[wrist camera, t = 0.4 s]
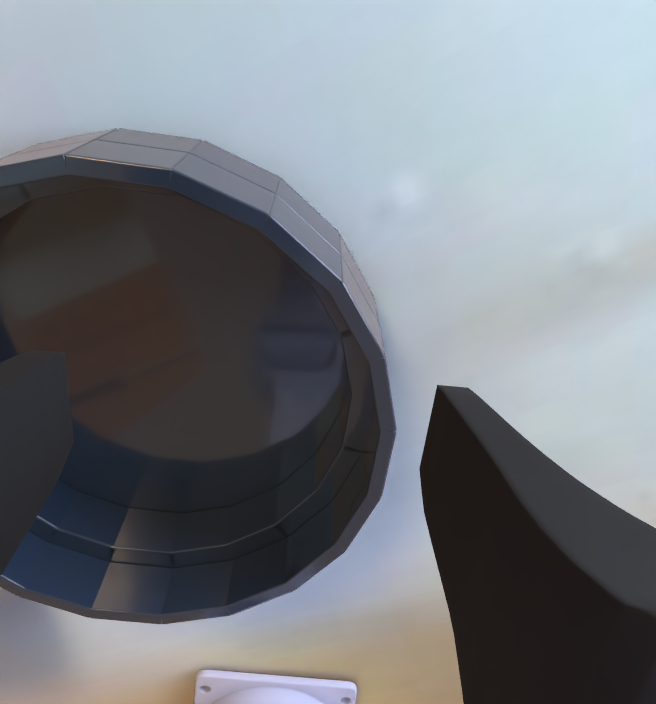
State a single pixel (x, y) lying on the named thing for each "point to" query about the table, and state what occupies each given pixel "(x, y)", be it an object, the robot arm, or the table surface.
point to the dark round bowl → (189, 377)
